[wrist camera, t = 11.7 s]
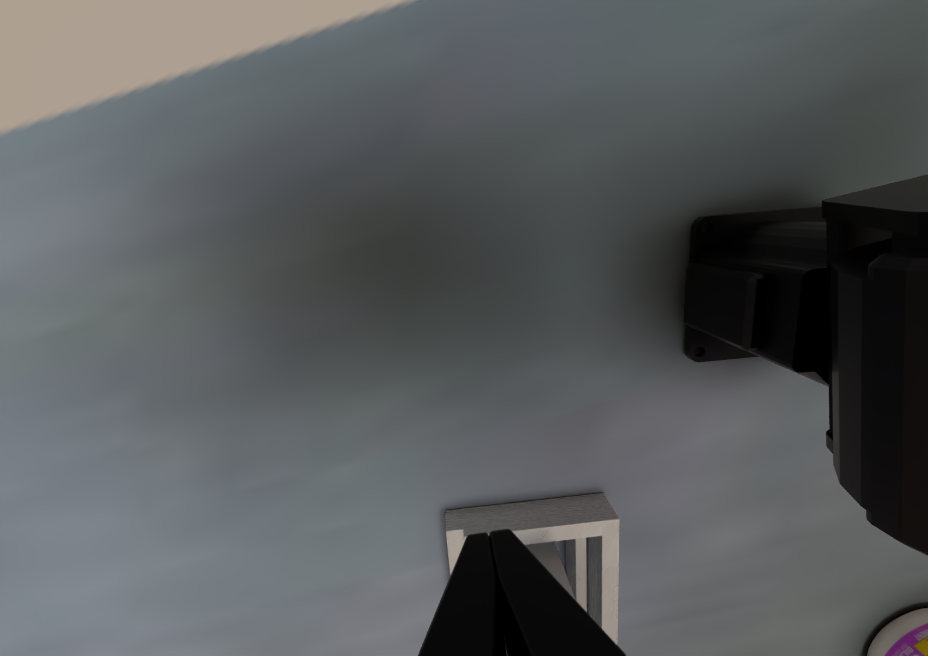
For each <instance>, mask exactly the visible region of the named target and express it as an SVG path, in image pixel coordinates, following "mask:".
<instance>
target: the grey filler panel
mask: <svg viewBox="0 0 928 656" xmlns="http://www.w3.org/2000/svg"><path fill="white" fill-rule="evenodd" d="M525 546H526V547H527V548H528V549H529V550H530V551H531V552H532V553H533V554H534V556H535V557H536V558H537V559H538V560H539V561H540V562H541V563H542V564H543V565H544V566H545V567H546V569H547V570H548V571H549V572H550V573H551V574H552V575H553V576H554V577H555V578H556V579H557V580H558V582H559V583H560V584H561V585H562V586H563V587H564V588H565V589H566V590H567V591H568V592H569V593H570V595H571V596H572V597H573V598H574V599H575V597H574V594H573V591H572V589H571V586H570V583H569V581H568V578H567V575H566V573H565V570H564V567H563V565H562V562H561V559H560V557H559V554H558V551H557V549H556V546H555V543H554V541H552V542H544V543H535V544H527V545H525ZM575 600H576V599H575Z"/></svg>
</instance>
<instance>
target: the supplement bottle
mask: <svg viewBox="0 0 928 656" xmlns="http://www.w3.org/2000/svg"><path fill="white" fill-rule="evenodd" d="M867 656H928V608H923V609H919V610H915V611H912V612H909V613H906V614H904V615H902V616H900V617H898V618H896V619H895V620H893V621H892V622H890V623H889V624H887V625H886V626H885V627H884V628H883V629H882V630H881V631H880V632H879V633H878V634H877V635H876V637H875V638H874V640H873V641H872V643H871V645H870V647H869V650H868V653H867Z"/></svg>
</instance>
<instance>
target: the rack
mask: <svg viewBox="0 0 928 656" xmlns="http://www.w3.org/2000/svg"><path fill="white" fill-rule="evenodd" d="M445 521H446V536H447V546H448V556H449V566H450V576H451V573H452V571H453V568H454V566H455V564H456V561H457V559H458V556H459V554H460V551H461V549H462V546H463V544H464V542H465V539H466V537H467V536H468V535H470V534H476V533H482V532H486V533H488V535H489V533H490V532H491V531H495V530H501V529H510V530H511V531H512V532H513V533H514V534H515V535H516V536H517V537H518V538H519V539H520V540H521V541H522V543H523V544H524V545H527V544H535V543H544V542H552V541H561V540H565V563H566V575H567V578H568V581H569V583H570V586H571V589H572V591H573V594H574V597H575V599H576V601H577V602H578V603H579V604H580V605H581V606H582V608H583V609H584V610H585V611H586V612H587V604H586V538H587V537H588V614H589V615H590V616H591V617H592V618H593V620H594V621H595V622H596V623H597V624H598V625H599V626H600V627H601V628H602V629H603V630H604V631H605V633H606V634H607V635H608V636H609V637H610V638H611V639H612V640H613V641H614V642H615V643H616V644H617V636H618V572H619V518H618V516H617V514H616V513H615V511H614V510H613V508H612V506H611V505H610V503H609V501H608V500H607V498H606V497H605V495H604V493H597V494H588V495H579V496H570V497H561V498H552V499H543V500H534V501H525V502H516V503H507V504H498V505H489V506H480V507H472V508H463V509H454V510H445Z"/></svg>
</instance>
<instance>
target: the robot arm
mask: <svg viewBox="0 0 928 656" xmlns="http://www.w3.org/2000/svg"><path fill="white" fill-rule="evenodd" d="M705 223H706V224H707V225H708V229H707V231H706V232H705V233H703V232H702V227H703V225H704V224H705ZM684 322H685V323H686V333H685V354H686V356H687V357H688V358H690V359H691V360H693V361H695V362H706V361H716V360H727V359H737V358H747V357H757V356H759V357H762V358H764V359H766V360H769V361H771V362H773V363H775V364H778V365H780V366H782V367H785V368H787V369H789V370H792V371H794V372H796V373H798V374H801V375H803V376H805V377H808V378H810V379H812V380H815V381H817V382H819V383H821V384H824V385H826V386H828V387H829V423H830V430H828V431H827V432H826V446H827V448H828V449H829V450H830V451H831V452H832V453H833V464H834V467H835V470H836V473H837V477H838V480H839V483H840V484H841V485H842V486H843V488H844V489H845V490H846V491H847V492H848V493H849V494H850V495H851V496H852V497H853V498H854V499H855V500H856V501H857V502H858V503H859V505H860V506H862V507H863V508H864V509H866V518H867V520H868V521H869V522H870V523H871V524H872V525H874V526H875V527H877V528H879V529H880V530H882V531H883V532H885V533H887V534H888V535H890V536H891V537H893V538H895V539H896V540H898V541H900V542H901V543H903V544H905V545H906V546H908V547H910V548H913V549H915V550H917V551H919V552H921V553H923V554H925V555H928V175H924V176H920V177H916V178H912V179H908V180H903V181H899V182H895V183H891V184H887V185H883V186H879V187H875V188H870V189H866V190H862V191H858V192H854V193H850V194H846V195H841V196H837V197H833V198H829V199H825V200H822V207H812V208H799V209H787V210H774V211H762V212H749V213H737V214H724V215H712V216H702V217H698V218H697V219H696V220H695V221H694V222H693V224H692V227H691V238H690V257H689V266H688V267H687V268H686V282H685V302H684ZM697 347H700V351H699V352H698V354H695V349H696V348H697ZM505 645H506V646H505ZM506 651H507V654H506ZM418 656H626V655H625V653H624V652H623V651H622V650H621V649H620V648H619V647H618V646H617V644H616V643H615V642H614V641H613V640H612V639H611V638H610V637H609V636H608V635H607V634H606V633H605V631H604V630H603V629H602V628H601V627H600V626H599V625H598V624H597V623H596V622H595V621H594V620H593V618H592V617H591V616H590V615H589V614H588V613H587V612H586V611H585V610H584V609H583V608H582V606H581V605H580V604H579V603H578V602H577V601H576V600H575V599H574V598H573V597H572V596H571V595H570V593H569V592H568V591H567V590H566V589H565V588H564V587H563V586H562V585H561V584H560V583H559V582H558V580H557V579H556V578H555V577H554V576H553V575H552V574H551V573H550V572H549V571H548V570H547V569H546V567H545V566H544V565H543V564H542V563H541V562H540V561H539V560H538V559H537V558H536V557H535V556H534V554H533V553H532V552H531V551H530V550H529V549H528V548H527V547H526V546H525V545H524V544H523V543H522V541H521V540H520V539H519V538H518V537H517V536H516V535H515V534H514V533H513V532H512V531H511V530H510V529H501V530H495V531H491V532H490V533H489V535H488V533H486V532H482V533H476V534H470V535H468V536H467V537H466V539H465V542H464V544H463V546H462V549H461V551H460V554H459V556H458V559H457V561H456V564H455V566H454V568H453V571H452V573H451V576H450V578H449V581H448V583H447V586H446V588H445V591H444V593H443V595H442V598H441V600H440V603H439V605H438V608H437V610H436V613H435V615H434V617H433V620H432V622H431V625H430V627H429V630H428V632H427V635H426V637H425V639H424V642H423V644H422V647H421V649H420V652H419V654H418Z"/></svg>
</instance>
